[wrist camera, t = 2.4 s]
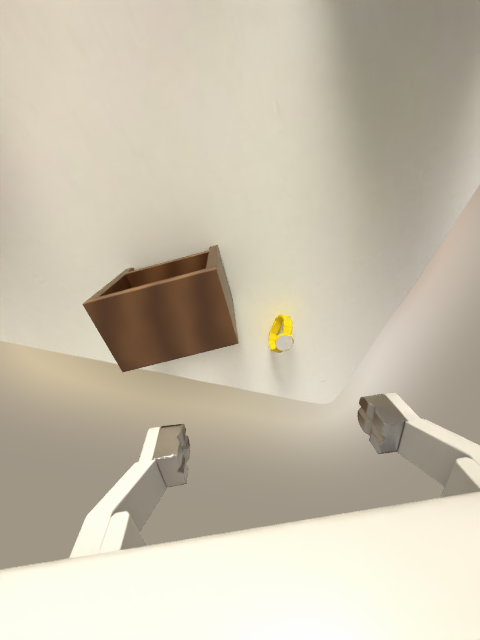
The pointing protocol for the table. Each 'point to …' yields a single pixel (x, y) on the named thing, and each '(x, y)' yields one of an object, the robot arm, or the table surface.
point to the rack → (166, 311)
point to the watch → (281, 335)
